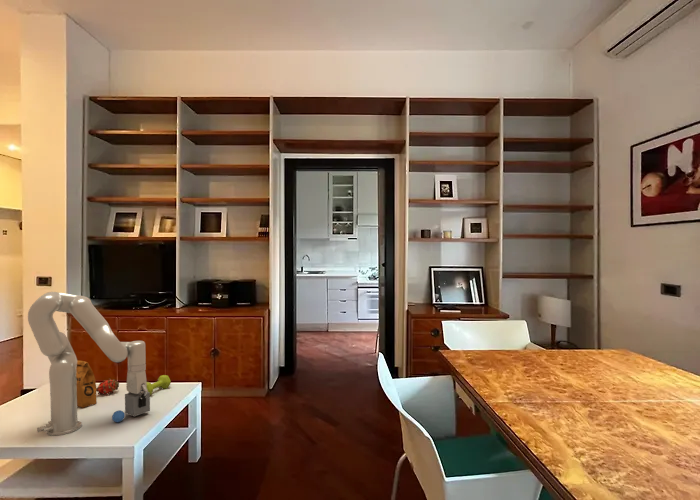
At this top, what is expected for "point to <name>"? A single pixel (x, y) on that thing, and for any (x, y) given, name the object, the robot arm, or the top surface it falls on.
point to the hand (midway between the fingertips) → (137, 404)
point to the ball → (118, 416)
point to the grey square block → (136, 404)
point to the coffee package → (85, 385)
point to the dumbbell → (159, 383)
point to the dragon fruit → (107, 387)
